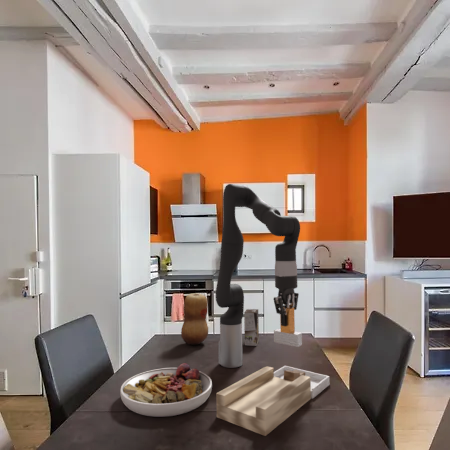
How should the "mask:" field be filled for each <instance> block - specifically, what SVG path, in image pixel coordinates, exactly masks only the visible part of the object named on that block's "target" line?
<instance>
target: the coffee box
mask: <svg viewBox="0 0 450 450" xmlns="http://www.w3.org/2000/svg"><path fill="white" fill-rule="evenodd" d="M243 318H244V325H243V327H244V329H243V331H244V346H253V347H255V346H256V347H257V346H258V344H259V342H260V329H259V309H255V308H253V309H251V308H250V309H249V308H248V309H246V310H245V311H243Z"/></svg>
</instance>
